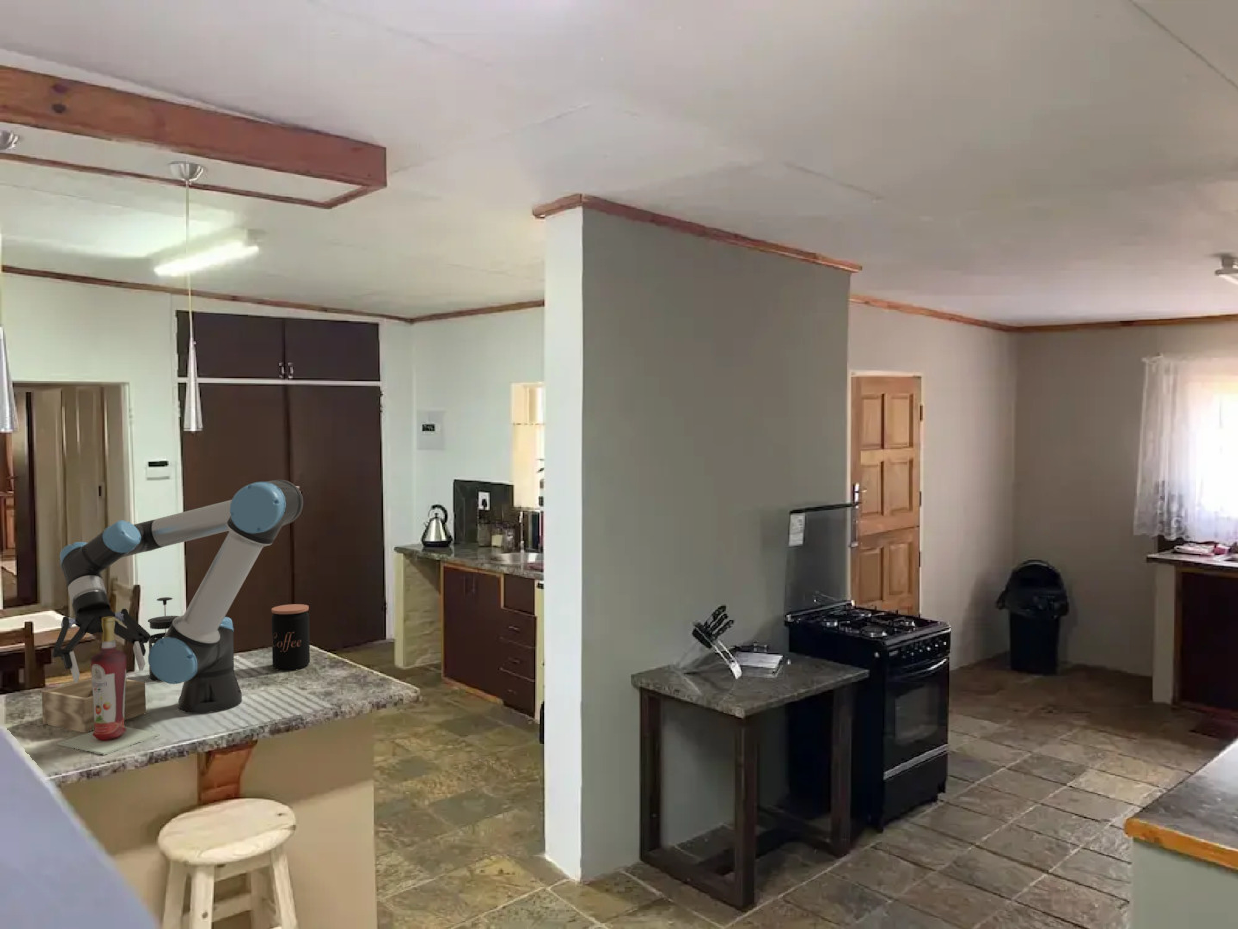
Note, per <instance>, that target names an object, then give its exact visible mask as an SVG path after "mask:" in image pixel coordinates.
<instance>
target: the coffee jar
mask: <svg viewBox="0 0 1238 929" xmlns="http://www.w3.org/2000/svg"><path fill="white" fill-rule="evenodd" d="M309 609H310V608H309V605H307V604H302V603H300V604H298V603H296V604H294V603H292V604H282V605H276V606H274V607H272V608H271V613H272V616H271V648H272V649H271V650H272V651H271V652H272V654H271V656H272V659H271V660H272V667H273V668H274V669H275V670H276V669H278V670H277V671H280V670H292V671H297V670H296V669H299V670H302V669H305V668H307V667H308V666H309V664H310V662H311V654H310V652H311V650H310V648H311V646H310V614H309V613H308V611H309Z"/></svg>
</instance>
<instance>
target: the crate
mask: <svg viewBox="0 0 1238 929" xmlns="http://www.w3.org/2000/svg"><path fill="white" fill-rule="evenodd" d="M146 698H147V697H146V682H145V681H140V680H133V679H128V678H126V685H125V707H124V721H126V720H125V719H127V720H129V719H128V718H130V719H133V718H136V717H139V716H138V715H140V716H142V715H141V714H143V715H145V714H144V713H147V707H146V706H147V702H146V701H147V700H146ZM41 702H42V703H41V707H42V708H41V710H42V725H46V724H48V725H47V726H52V727H57V728H61V729H66V730H70V731H71V730H72V731H75V732H80V733H84V734H86V733H89V731H90V732H92V730H93V731H95V724H94V703H93V689H92V677H91V678H86V679H84V680H78V682H75V683H74V682H73V683H69V684H66V685H60V686H58V687H57V686H56V687H53V688H49V689H46V690H42V691H41Z"/></svg>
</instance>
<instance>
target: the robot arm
mask: <svg viewBox="0 0 1238 929" xmlns="http://www.w3.org/2000/svg"><path fill="white" fill-rule="evenodd" d="M303 506H304V498H303V494H302V493H301V490H300V489H299V488H298V487H297V486H296V484H294V483H292V482H290V481H289V480H285V479H273V480H269V481H256V482H252V483H250V484H247V485H245V486H243V487H242V488H240V489H239V490H238V491H237V492H236V493H235V494H234V496H233V497H232V499H229V500H226V501H222V502H218V503H213V504H210V505H205V506H202V507H198V508H194V509H191V510H186V511H182V512H178V513H175V514H174V513H173V514H171V515H166V516H162V517H159V518H156V519H150V520H147V521H142V522H139V523H135V524H133V523H132V522H130V521H126V520H123V519H122V520H118V521H116V522H114V523H113V524H111V525H109V526H108V527H106V528H105V529H104V530H103V531H101V533H99V534H98V535H96V536H95V537H94V538H92V539H91V540H89V542H85V541H77V542H76V541H75V542H73V543H72V544H67V545H66V546H64V547H63V548H62V549H61V551H60V553H59V560H60V569H61V570H62V575H63V576H64V578H65V579H64V580H65V583H66V587H67V590H68V595H69V599H70V602H71V604H72V605H71V606H72V610H73V614H74V617H75V618H71V617H70V618H69V616H63V617H62V620H61V624H60V627H61V629H60V632H59V634H58V637H57V639H56V642H55V645H54V647H53V650H52V654H51V657H52V658H58V657H60V660H61V661H63V666H64V668H65V669H66V670H70V672H71V673H70V674H71V676H72V679H73V683H76V682H79V681H80V680H79V679H80V676H81V673H80V670H79V667H78V663H77V658H76V655H75V652H74V651H73V650H74V649H75V647H76V646H78V644H79V643H80V641H81V640H82V639H83V638H84V637H85V635H86V634H87V633H88V634H90V635H95V634H97V633H102V634H103V628H102V618H103V617H115V627H114V635H116V636H118V637H119V638H121V639H123V640H125V641H126V642H129V643H130V644H132V645H133V646H132V650H133V654H134V657H135V658H134V659H135V660H136V663H137V666H138V667H137V668H138V670H139V672H141V671H144V668H145V666H146V662H145V655H146V653H147V651H146V647H145V644H148V643H149V642H148V640H149V638H150V636H151V634H150V633H149V632H148V631H147V630H146V629H145V628H144V627H143V626H142V625H140V624H139V623H138V622H137V621H136V619H134V618H133V617H132V616H131V615H130V614H129V612H128V609H127V608H122V609H121V611H119V612H114V611H113V610H112V607H111V604H110V600H109V597H108V594H107V590H106V587H105V584H104V580H103V577H102V572H103V571H105V570H106V569H108V568H109V567H110V566H112V565H113V564H114V563H115V562H117V561H119V560H120V559H122V558H126V557H130V556H133V555H137V554H141V553H142V554H143V553H147V552H151V551H155V550H157V549H161V548H164V547H168V546H169V547H170V546H174V545H176V544H181V543H184V542H188V541H193V540H197V539H201V538H204V537H205V538H206V537H209V536H212V535H217V534H221V533H224V532H225V533H226V532H228V533H227V535H226V537H225V539H224V541H223V543H222V544H221V547H220V548H219V549H218V552H217V554H216V555H215V557H214V559H213V561H212V563H211V565H210V566H209V568H208V570H207V572H206V573H205V576H204V577H203V578H202V581H201V583H200V585H199V586H198V588H197V590H196V592H195V593H194V595H193V597H192V599H191V601H190V603H189V605H188V607H187V608H186V610H185V611H184V614H183V615H178V616H179V617H176V618H175V619H174V620H173V622H172V624H171V625H170V627H169V629H167V630H166V632H167V633H166V635H165V636H164V637H163V638H162V639H159V640H158V641H157V642H156V643H155V644H154V643H153V644H152V647H151V649H150V651H149V650H148V654H147V662H148V665H150V668H151V671H152V672H153V674H154V675H155V676H156V677H157V678H158V679H160V680H161V681H162V682H163V683H165V684H170V685H178V684H182V683H183V684H182V688H181V691H180V696H179V697H178V705H177V706H178V710H179V711H181V712H183V713H191V714H204V713H205V714H206V713H214V712H220V711H224V710H229V709H233V708H234V707H237V706H238V705H240V704H242V702H243V693H242V690H241V689H240V685H239V683H238V679H237V677H236V675H235V663H234V662H235V660H234V658H235V657H234V656H235V655H234V652H235V651H234V650H235V648H234V631H235V629H234V625H233V624H234V623H233V620H232V618H230V617H228V616H226V615H227V614H228V611H229V610H230V608H231V606H232V604H233V602H234V600H235V599H236V597H237V595H238V593H239V592H240V589H241V588H242V586H243V584H244V582H245V581H246V578H247V577H248V575H249V573H250V571H251V570H252V568H253V566H254V564H255V562H256V561H257V559H258V557H259V555H260V553H261V551H262V550H263V548H264V547H267V546H271V545H272V544H273V543H274V541H275V539H276V538H277V536H278V534H279V532H280V531H281V529H282V527H283V526H286V525H288V524H291V523H292V522H294V521H295V520H296V519H298V518H299V516H300V515H301V512H302V510H303ZM116 619H117V620H118V621H119V622H121V623H122V624H123V625H121V624H120V623H119V622H118V621H117V620H116ZM73 625H75V626H76V627H78V628H79V629H78V630H77V631H76V633H75V634H74V635H73V637H72V638H71V639H70V640H69V641H68V643H67V644H66V646H65V647H64V648H62V647H63V644H64V642H65V639H66V636H67V635H68V634H67V633H68V631H69V629H71V628H72V627H73ZM161 681H160V682H161Z"/></svg>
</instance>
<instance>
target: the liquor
mask: <svg viewBox="0 0 1238 929" xmlns="http://www.w3.org/2000/svg"><path fill="white" fill-rule="evenodd" d="M115 620H116V618H115V617H103V618H102V628H103V632H102V640H101V649H100V651H99V652H97V653H95V654H94V655H92V657H90V672H91V673H90V674H91V676H90V677H91V678H92V689H93V703H94V724H95V730H93V731H94V732H93V734H92V735H93V736H94V737H96V738H97V739H98V740H100V741H109V740H114V739H118V738H119V737H121V736H122V735H123V734H124V733H125V731H126V728H125V727H126V726H125V720H124V707H125V685H126V679H127V657H128V655H127V653H125V652H123V651H122V650H121V651H120V650H118V649H117V646H116V637H115V635H116V634H114V627H115ZM124 726H125V727H124Z"/></svg>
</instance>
